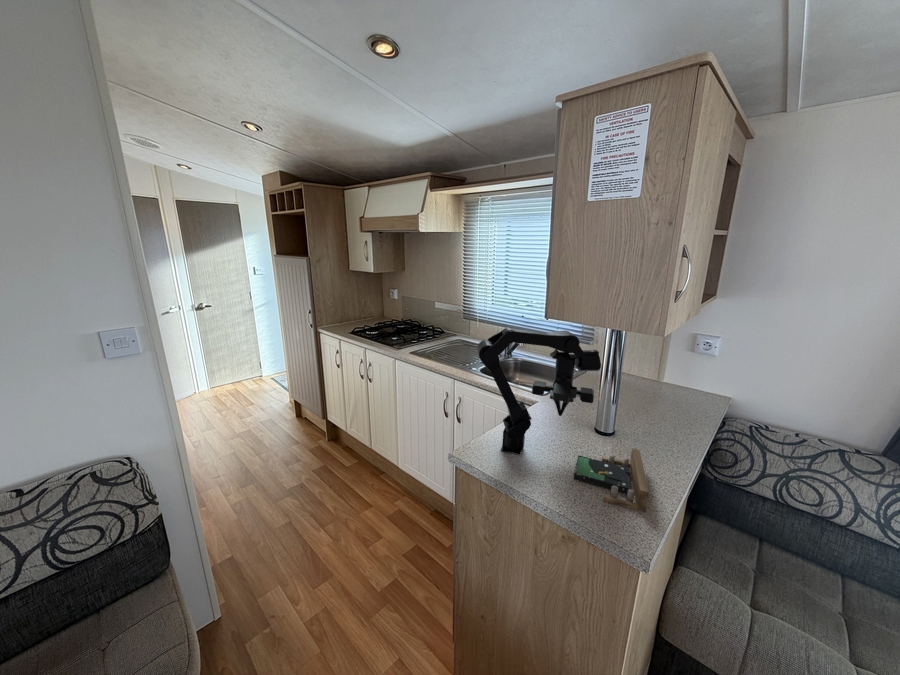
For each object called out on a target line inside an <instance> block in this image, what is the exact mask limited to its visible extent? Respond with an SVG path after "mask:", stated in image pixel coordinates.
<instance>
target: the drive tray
mask: <svg viewBox="0 0 900 675" xmlns="http://www.w3.org/2000/svg"><path fill="white" fill-rule="evenodd" d="M630 453H631V454H630V458H629V457H626V456H624V457H623V458H622V459H617V458H615V457H616V456H615V455H614V454H613V453H612V454H609V455H608V457H607V456H601V461H603V462H607V463H611V464H615V465H619V466H623V467H627V468H630V478H631V482H632V489H631V488H630V489H629V490H628V494H626V495H627V496H626V499H622V498H618V493H619V492H618V487H617V486H614V485H613V486H612V488H611V490H610V496H609V495H605V494H603V498H602V499H603V502H604V503H607V504H611V505H614V506H619V507H624V508H627V509H630V510H635V511H639V512H643V513H646V511H647V507H648V501H649V495H650V491H649V490H650V489H649V486H648V481H647V477H646V471H645V468H644V463H643V459H642V455H641V450H640V449H637V448H632V449H631V452H630ZM634 500H635V501H634Z"/></svg>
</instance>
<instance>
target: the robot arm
mask: <svg viewBox="0 0 900 675" xmlns="http://www.w3.org/2000/svg"><path fill="white" fill-rule="evenodd" d="M513 343H514V344H525V345H533V346H540V347H549V348H552V349H553V351H552V352H550V353H549V356H550V357H551V358H552V359H554V360H555V368H554V380H553V382H552V386H550V385H547V381H540V380H535V381H534V382H533V384H532V388H531V394H532V395H537V396H543V395H544V394H545V392H547V393H549V394H550V395H549V399H551V400H553V402H554V404H555V407H556V411H557V413H558V416H560V417H562V416H563V413H564V412H565V410H566V408H567V406H569V405H568V404H569V403H574V401H575V399H576V398H577V397H579V400H580V401H581V402H582V403H589V404H593V403H594V398H595V391H594V389H593V388H590V387H582V386H580V390H578V386H574V385H573V384H574V374H575V369H577V370H578V372H599V371H600V369H601V368H602V363H601V357H600V355H599V354H600V351H598V350H597V349H587V350H586V349H582V348H581V346H580V343H581V342H580V339H579V337H578V336H576V335H575V334H573V333H572V332H570V331H568V330H554V331H549V332H543V331H538V330H537V331H536V330H527V329H519V328H512V327H505V328H503V329H502V330H501V331H499V332H498V333H495V334H493V335H492V336H490V337H489V338H487V339H485V340H484V339H483V340H481V341H480V342H478V344H477V346H476V351H477V355H478V357H479V360H480V361H481V363H482V364H483V365H484V366H485V368H486V369H487V370H488V372H490V374H491V376H492V378H493V380H494V382H495V384H496V386H497V388H498V390H499V392H500V394H501V396H502V398H503V400H504V402H505V405H506V408H507V411H508V412H507V413H508V415H506V416H505V417H504V418H503V419H502V423H503V425H504V429H503V432H502V444H501V448H500V451H502V452H506V453H509V454H510V453H512V454H516V455H521V453H522V451H523V450H524V448H525V439H526V438H525V435H526V432H527V431H528V430H529V429H530V427H531V426H532V421H533V418H532V417H531V414H530V413H529V411H528V408H527V407H526V405H525V402H524V401H523V400H522V401H520V402H519V401H518V400H517V398H516V396H515V394H514V392H513V390H512V388H511V386H510V383H509V382H508V379H507V377H506V375H505V373H504V371H503V368H502V367H501V365H502V364H501V359H500V355H501V354H502V353H504V351H505V350H506V349H507V348H508V347H509V346H510V345H511V344H513ZM531 420H532V421H531Z"/></svg>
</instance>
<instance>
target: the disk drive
mask: <svg viewBox="0 0 900 675" xmlns="http://www.w3.org/2000/svg"><path fill="white" fill-rule="evenodd" d="M573 473H574V474H573V477H572V479H573V481H577V480H578V481H577V482H580V483H583V482H584V484H587V483H588V485H592V486H595V487H597V488H598V487H599V488H602V489H604V490H605V489H606V490H609V491H611V488H612V486H613V485H614V486H617V487H618V493H620V494H624V495H627V494H628V490H629V489H631V471H630V467H628V468H627V467H623V466H620V465H615V464H611V463H607V462H603V461H602V460H599V459H595V458H591V457H587V456H583V455H577V460H576V464H575V468H574V472H573Z"/></svg>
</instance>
